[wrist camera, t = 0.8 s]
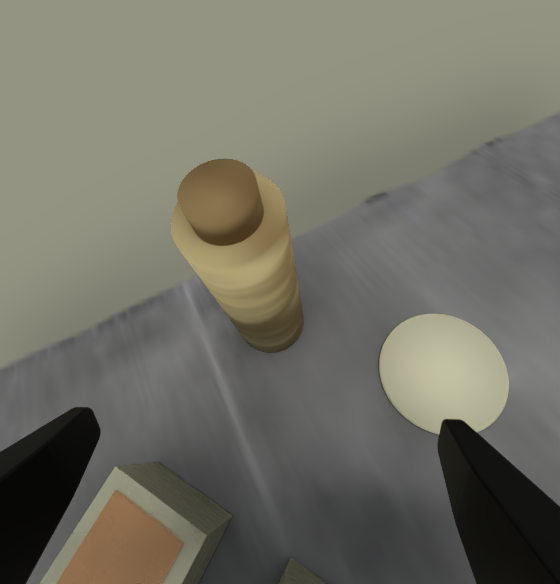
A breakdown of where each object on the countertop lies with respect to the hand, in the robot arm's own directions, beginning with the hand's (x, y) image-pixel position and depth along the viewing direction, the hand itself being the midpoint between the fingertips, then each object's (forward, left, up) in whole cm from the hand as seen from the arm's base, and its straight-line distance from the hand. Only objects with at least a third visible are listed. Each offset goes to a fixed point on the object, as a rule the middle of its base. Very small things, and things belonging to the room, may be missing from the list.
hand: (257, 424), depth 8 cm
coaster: (+8, -7, -15) cm, 18 cm away
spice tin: (-9, +4, -15) cm, 18 cm away
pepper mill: (+6, +5, -15) cm, 17 cm away
